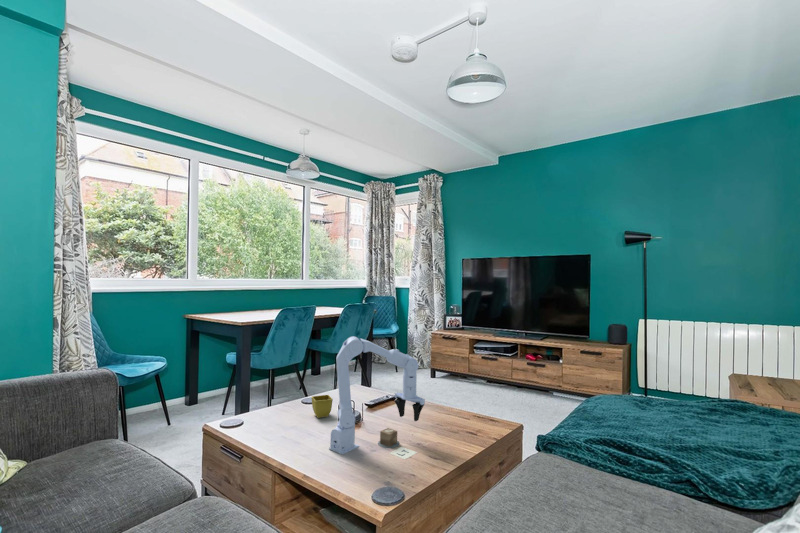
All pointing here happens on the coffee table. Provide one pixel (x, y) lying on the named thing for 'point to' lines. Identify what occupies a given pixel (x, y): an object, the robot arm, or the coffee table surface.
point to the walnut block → (388, 437)
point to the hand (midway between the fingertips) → (409, 418)
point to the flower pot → (322, 405)
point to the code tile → (403, 452)
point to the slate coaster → (390, 446)
